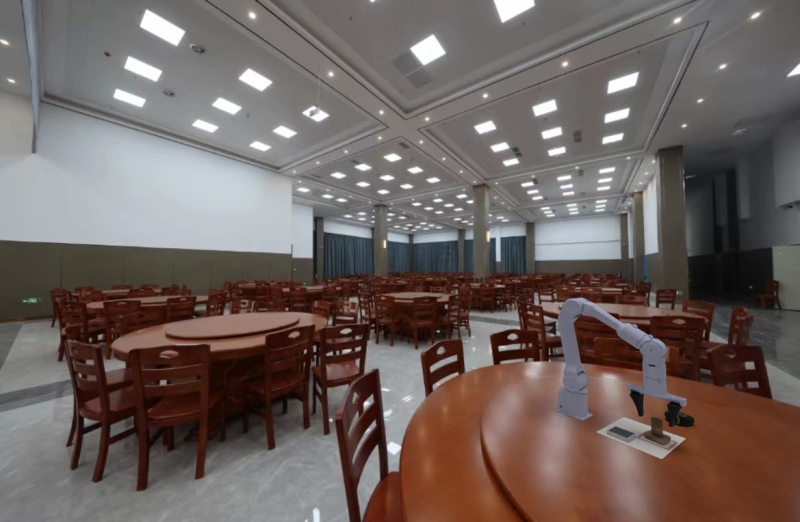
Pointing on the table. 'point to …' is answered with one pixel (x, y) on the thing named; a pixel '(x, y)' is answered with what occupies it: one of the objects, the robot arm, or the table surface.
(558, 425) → the table surface
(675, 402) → the robot arm
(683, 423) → the tape measure
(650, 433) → the stamp
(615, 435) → the stamping mat
